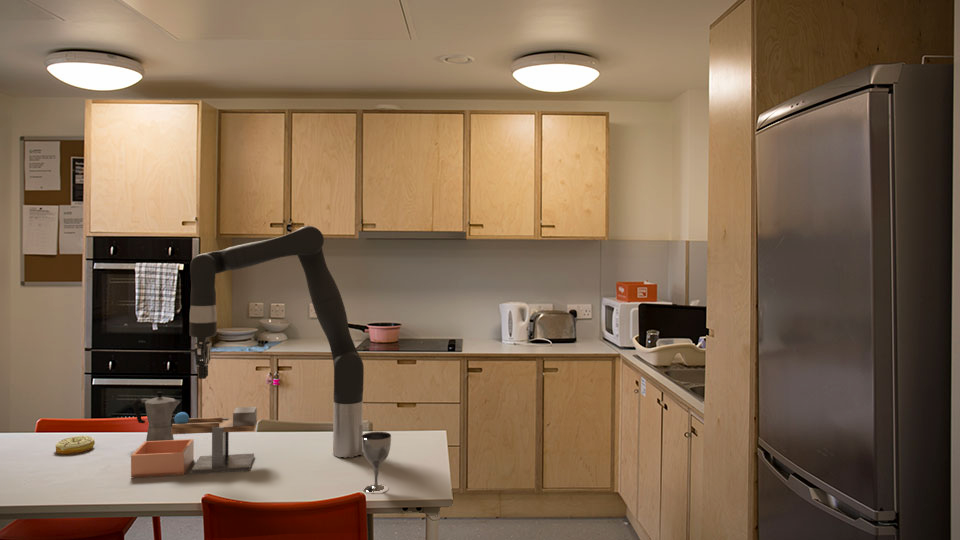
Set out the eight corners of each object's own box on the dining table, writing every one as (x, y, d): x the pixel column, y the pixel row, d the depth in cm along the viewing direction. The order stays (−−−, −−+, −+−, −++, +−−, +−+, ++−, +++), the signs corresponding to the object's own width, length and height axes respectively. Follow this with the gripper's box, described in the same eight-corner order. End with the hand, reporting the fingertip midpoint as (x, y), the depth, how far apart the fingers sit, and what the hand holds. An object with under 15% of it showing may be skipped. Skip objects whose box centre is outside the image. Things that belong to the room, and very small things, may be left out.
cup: (193, 459, 205) (193, 439, 205) (183, 475, 191) (183, 452, 191) (144, 462, 202) (144, 441, 202) (131, 478, 188) (131, 455, 188)
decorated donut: (52, 450, 213) (52, 438, 213) (89, 443, 221) (89, 432, 221) (60, 457, 206) (59, 445, 206) (98, 450, 213) (98, 439, 213)
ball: (190, 423, 200) (190, 410, 200) (187, 426, 196) (187, 413, 196) (176, 424, 199) (176, 410, 199) (172, 427, 195) (172, 414, 195)
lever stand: (254, 457, 209) (254, 416, 208) (249, 470, 196) (249, 427, 195) (200, 460, 205) (200, 418, 205) (191, 474, 192) (191, 429, 192)
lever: (256, 423, 206) (256, 406, 206) (253, 430, 198) (253, 412, 198) (177, 427, 201) (177, 409, 201) (171, 434, 193) (171, 415, 193)
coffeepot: (185, 441, 224) (185, 388, 224) (173, 449, 215) (173, 394, 214) (139, 441, 224) (139, 388, 223) (125, 449, 214) (125, 394, 214)
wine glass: (362, 484, 186) (363, 431, 186) (391, 483, 187) (391, 431, 187) (360, 494, 178) (360, 439, 178) (389, 494, 179) (390, 439, 179)
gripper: (212, 322, 192) (212, 382, 192) (220, 317, 205) (220, 373, 206) (184, 323, 190) (184, 382, 191) (194, 317, 204) (194, 373, 204)
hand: (203, 377), depth 198 cm, fingers closed
